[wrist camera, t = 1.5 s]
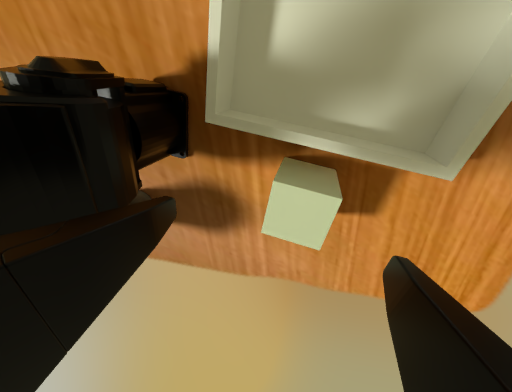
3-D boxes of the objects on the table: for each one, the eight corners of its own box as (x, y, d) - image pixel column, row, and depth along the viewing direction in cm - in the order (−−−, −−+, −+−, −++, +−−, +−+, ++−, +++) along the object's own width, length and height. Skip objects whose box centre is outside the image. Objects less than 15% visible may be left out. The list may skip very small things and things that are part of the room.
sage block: (318, 211, 22) (319, 250, 17) (273, 199, 22) (261, 232, 17) (335, 169, 19) (342, 199, 14) (284, 156, 20) (273, 180, 15)
